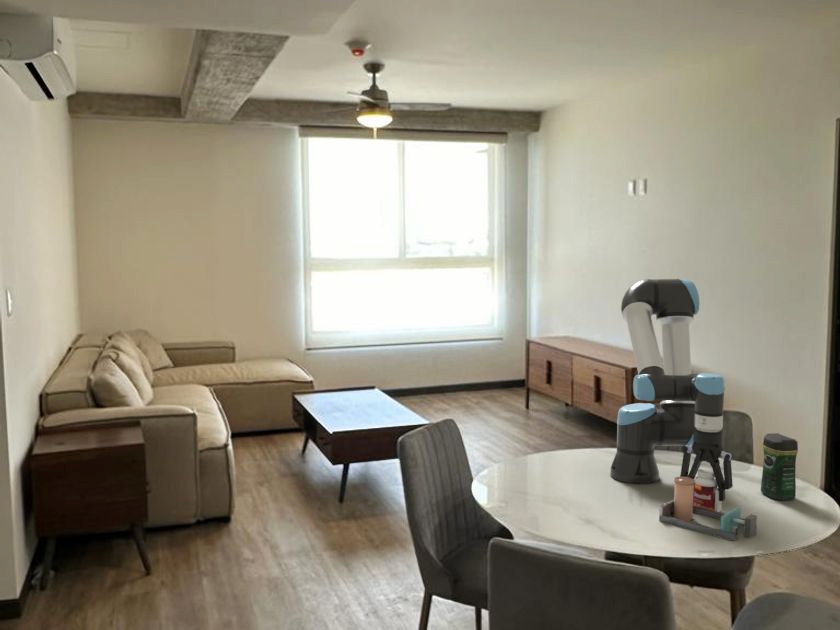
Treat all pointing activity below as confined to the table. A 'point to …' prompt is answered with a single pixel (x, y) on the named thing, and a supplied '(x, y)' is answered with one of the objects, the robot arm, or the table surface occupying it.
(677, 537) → the table surface
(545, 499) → the table surface
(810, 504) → the table surface
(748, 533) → the pusher plate
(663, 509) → the grey rail frame
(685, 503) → the tan rounded cylinder
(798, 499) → the table surface
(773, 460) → the coffee jar
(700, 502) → the pill bottle
